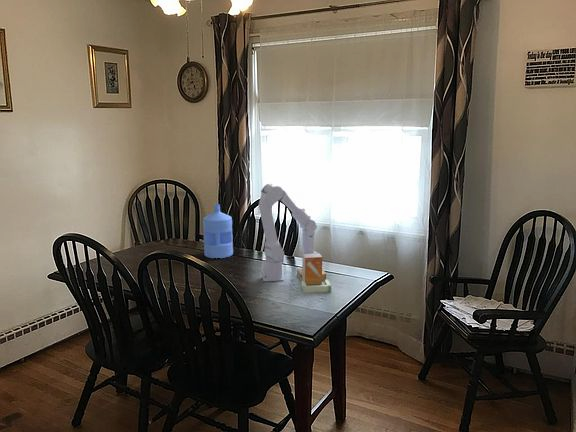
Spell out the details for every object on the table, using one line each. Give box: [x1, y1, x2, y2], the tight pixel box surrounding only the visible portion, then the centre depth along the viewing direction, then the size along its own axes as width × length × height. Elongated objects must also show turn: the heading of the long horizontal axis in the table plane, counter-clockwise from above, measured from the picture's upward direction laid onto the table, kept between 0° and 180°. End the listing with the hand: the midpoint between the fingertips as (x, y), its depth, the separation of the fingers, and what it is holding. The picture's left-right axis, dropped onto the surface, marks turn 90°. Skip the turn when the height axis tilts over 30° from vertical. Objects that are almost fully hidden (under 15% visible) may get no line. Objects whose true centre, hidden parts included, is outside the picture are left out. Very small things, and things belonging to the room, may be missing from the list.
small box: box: [301, 252, 323, 286], centre depth 222 cm, size 8×6×13 cm
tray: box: [300, 279, 332, 294], centre depth 215 cm, size 12×8×2 cm, turn 96°
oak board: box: [296, 267, 327, 282], centre depth 231 cm, size 12×10×3 cm
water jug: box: [202, 203, 234, 260], centre depth 265 cm, size 16×16×28 cm
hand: (308, 270), depth 237 cm, fingers closed
